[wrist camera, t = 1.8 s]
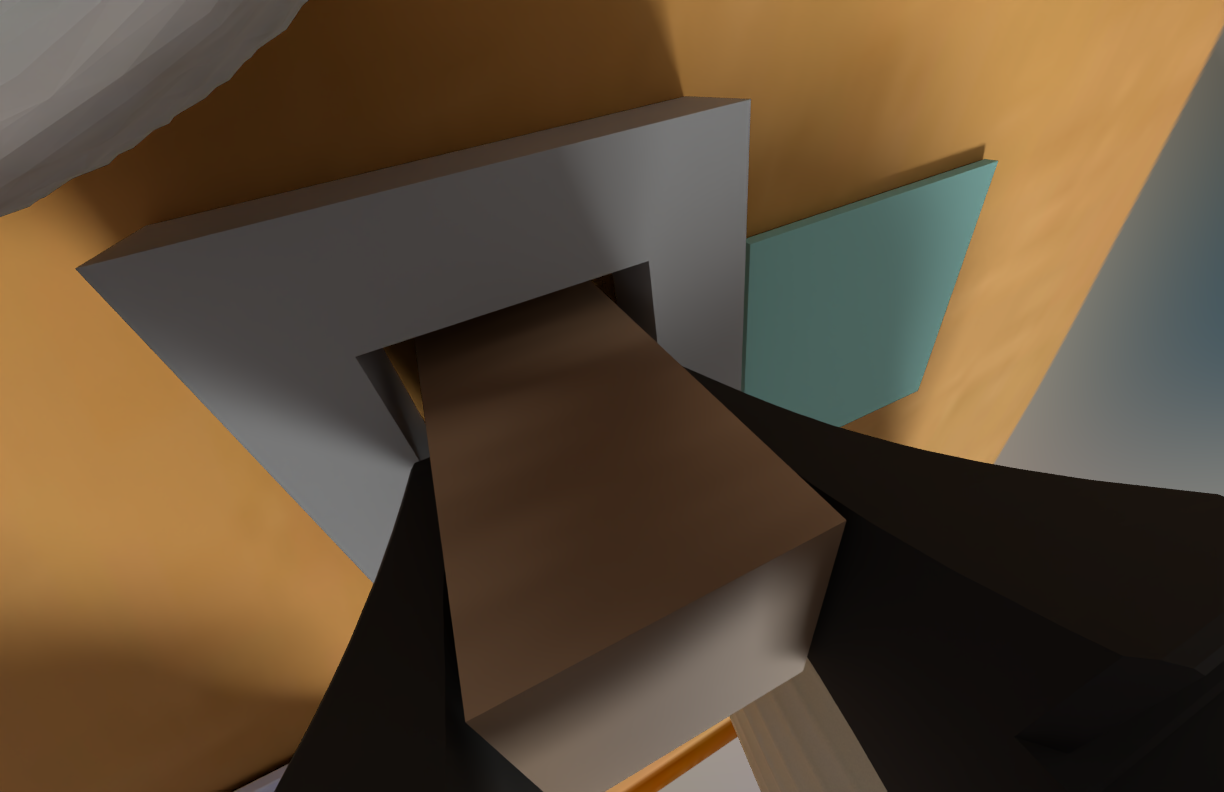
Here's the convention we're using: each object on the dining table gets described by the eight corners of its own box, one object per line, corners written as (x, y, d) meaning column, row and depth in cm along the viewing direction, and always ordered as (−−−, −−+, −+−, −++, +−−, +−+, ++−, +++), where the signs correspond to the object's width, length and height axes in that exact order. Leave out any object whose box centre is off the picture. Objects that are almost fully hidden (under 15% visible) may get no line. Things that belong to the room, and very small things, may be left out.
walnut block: (475, 453, 12) (567, 814, 6) (412, 326, 10) (466, 721, 4) (608, 400, 13) (802, 671, 7) (581, 271, 11) (847, 520, 5)
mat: (735, 466, 17) (741, 473, 17) (741, 240, 12) (750, 244, 12) (909, 385, 19) (917, 390, 19) (984, 159, 14) (998, 160, 14)
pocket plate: (412, 561, 13) (416, 628, 12) (145, 225, 7) (75, 268, 6) (699, 435, 16) (738, 477, 14) (685, 96, 9) (750, 98, 8)
